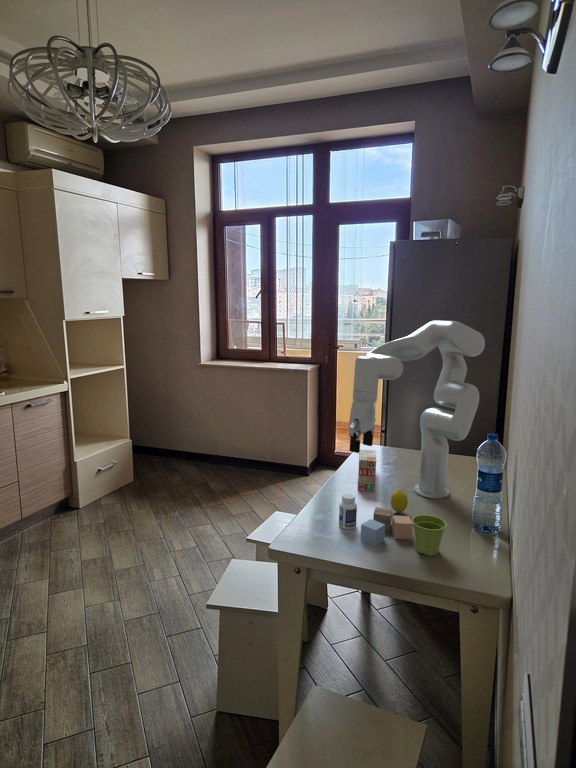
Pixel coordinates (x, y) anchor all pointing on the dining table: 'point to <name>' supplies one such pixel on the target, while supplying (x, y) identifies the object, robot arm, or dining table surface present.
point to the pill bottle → (347, 512)
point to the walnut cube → (383, 516)
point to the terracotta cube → (402, 527)
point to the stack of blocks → (367, 470)
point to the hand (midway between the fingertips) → (361, 448)
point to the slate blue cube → (372, 532)
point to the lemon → (399, 501)
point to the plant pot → (428, 533)
